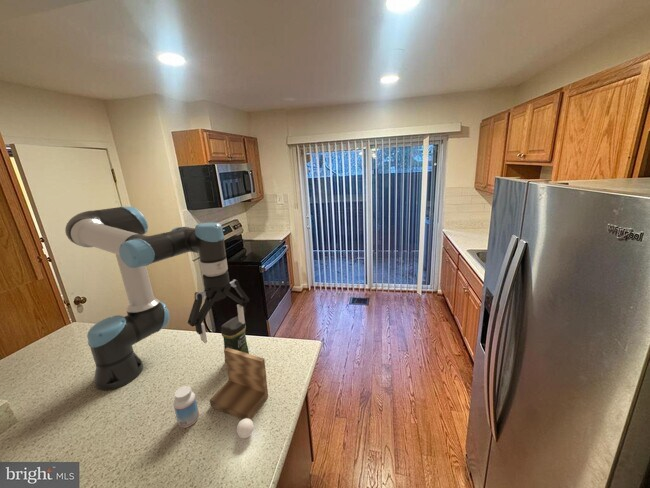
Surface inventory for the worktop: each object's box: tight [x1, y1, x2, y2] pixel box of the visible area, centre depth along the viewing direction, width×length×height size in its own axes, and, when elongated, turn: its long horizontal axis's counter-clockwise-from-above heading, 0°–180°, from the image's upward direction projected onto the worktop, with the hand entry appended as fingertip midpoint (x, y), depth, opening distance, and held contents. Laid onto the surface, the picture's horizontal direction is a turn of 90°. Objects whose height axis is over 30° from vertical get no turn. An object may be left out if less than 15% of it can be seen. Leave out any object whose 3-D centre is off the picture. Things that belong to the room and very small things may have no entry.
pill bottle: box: [173, 385, 200, 428], centre depth 82 cm, size 6×6×11 cm
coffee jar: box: [220, 315, 250, 364], centre depth 108 cm, size 10×8×19 cm
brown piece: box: [209, 348, 269, 421], centre depth 88 cm, size 16×11×16 cm, turn 67°
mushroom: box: [236, 418, 255, 439], centre depth 78 cm, size 5×5×5 cm
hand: (224, 331), depth 87 cm, fingers open, 13 cm apart
